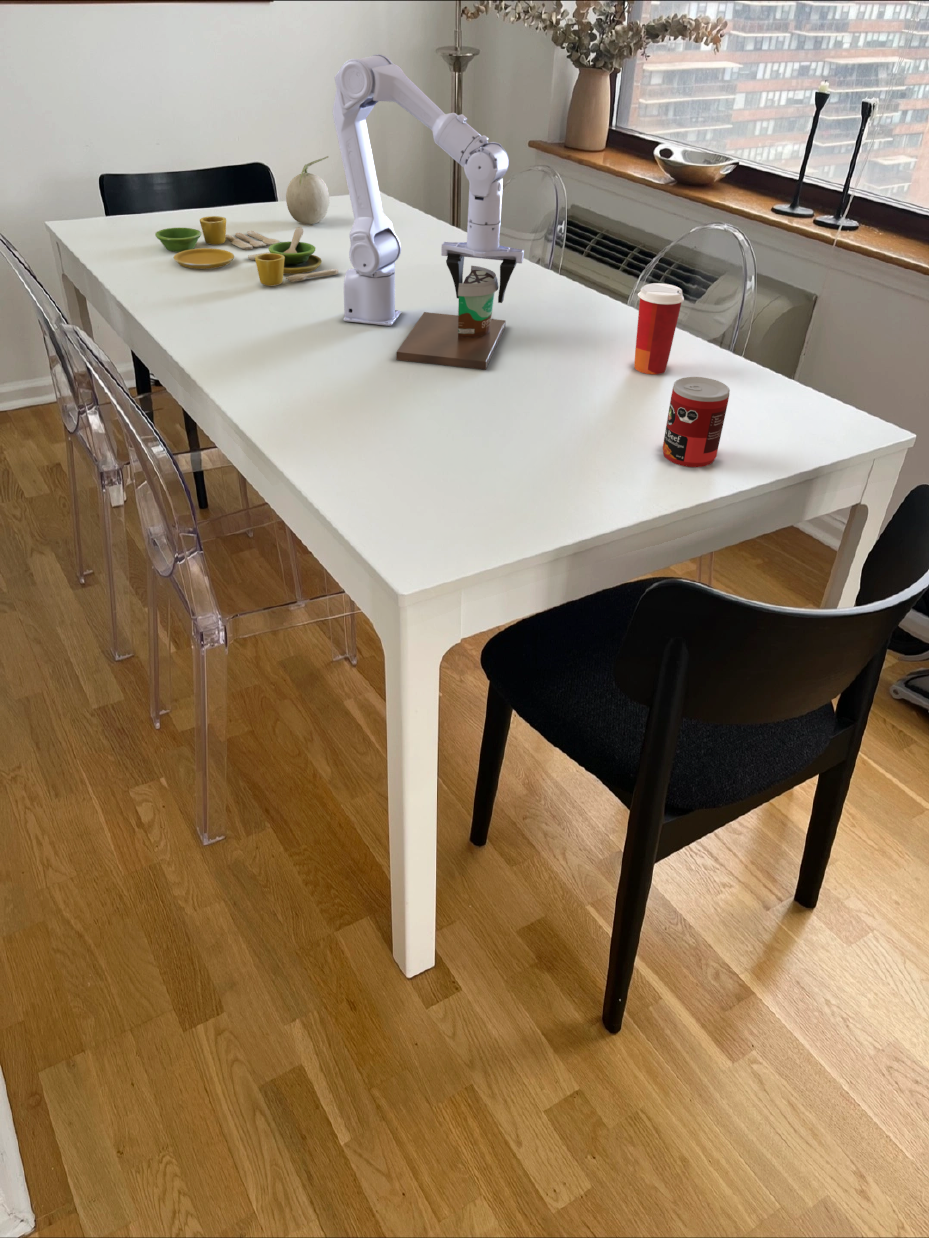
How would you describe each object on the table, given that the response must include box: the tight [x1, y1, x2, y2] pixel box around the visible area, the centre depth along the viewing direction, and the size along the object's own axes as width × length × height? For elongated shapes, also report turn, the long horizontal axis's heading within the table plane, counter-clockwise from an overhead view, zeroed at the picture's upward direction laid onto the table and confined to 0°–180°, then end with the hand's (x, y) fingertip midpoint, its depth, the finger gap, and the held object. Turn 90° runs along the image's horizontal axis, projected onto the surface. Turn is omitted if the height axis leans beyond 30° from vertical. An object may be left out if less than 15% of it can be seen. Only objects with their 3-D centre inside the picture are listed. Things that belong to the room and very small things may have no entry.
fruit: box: [285, 155, 330, 225], centre depth 239 cm, size 10×12×15 cm
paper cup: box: [633, 282, 685, 375], centre depth 170 cm, size 8×8×14 cm
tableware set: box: [154, 215, 339, 287], centre depth 214 cm, size 41×28×6 cm
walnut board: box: [395, 311, 507, 371], centre depth 180 cm, size 16×22×2 cm
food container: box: [457, 265, 500, 338], centre depth 179 cm, size 12×6×10 cm, turn 169°
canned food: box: [662, 376, 731, 468], centre depth 143 cm, size 8×8×11 cm
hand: (480, 299), depth 179 cm, fingers open, 7 cm apart
